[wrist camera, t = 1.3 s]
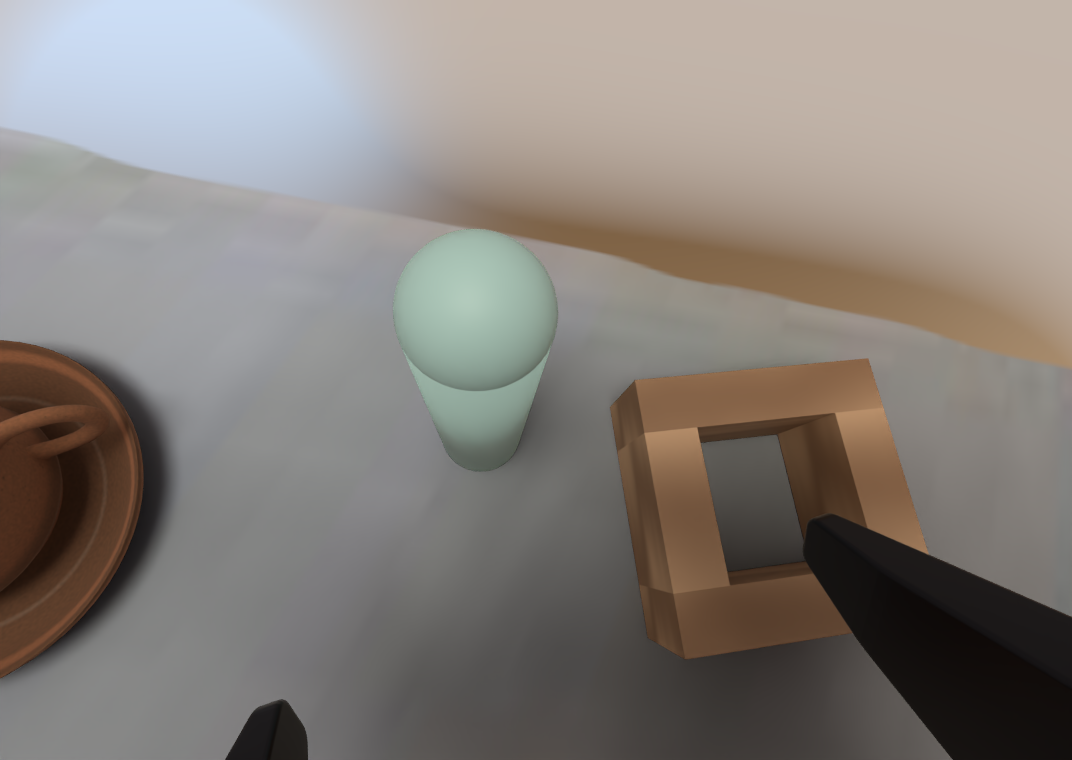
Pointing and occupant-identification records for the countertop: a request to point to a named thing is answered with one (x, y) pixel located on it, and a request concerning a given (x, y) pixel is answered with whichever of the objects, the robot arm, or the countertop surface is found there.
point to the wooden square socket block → (688, 513)
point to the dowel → (476, 339)
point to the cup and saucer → (59, 496)
